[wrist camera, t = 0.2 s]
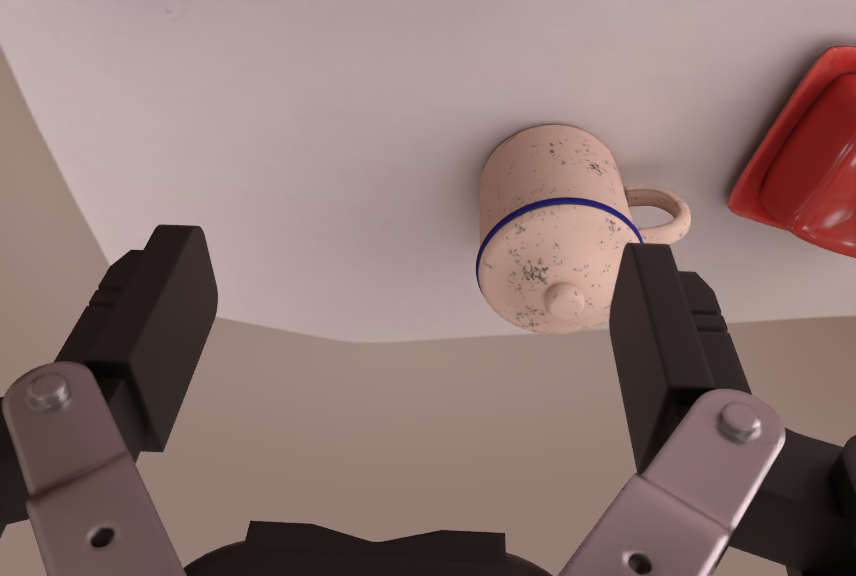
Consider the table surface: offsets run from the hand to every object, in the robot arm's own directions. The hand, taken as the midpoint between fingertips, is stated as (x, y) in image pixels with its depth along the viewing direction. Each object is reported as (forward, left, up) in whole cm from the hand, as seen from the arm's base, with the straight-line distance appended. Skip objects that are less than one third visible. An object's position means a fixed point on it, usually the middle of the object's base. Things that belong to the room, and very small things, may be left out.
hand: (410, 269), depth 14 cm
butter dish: (+13, +24, -29) cm, 40 cm away
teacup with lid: (+16, +8, -29) cm, 34 cm away
